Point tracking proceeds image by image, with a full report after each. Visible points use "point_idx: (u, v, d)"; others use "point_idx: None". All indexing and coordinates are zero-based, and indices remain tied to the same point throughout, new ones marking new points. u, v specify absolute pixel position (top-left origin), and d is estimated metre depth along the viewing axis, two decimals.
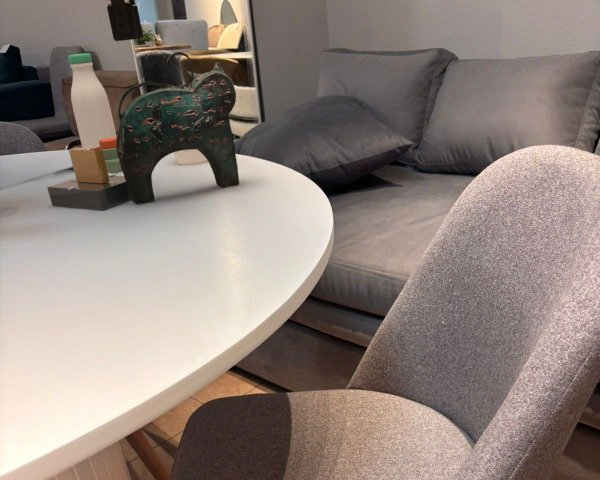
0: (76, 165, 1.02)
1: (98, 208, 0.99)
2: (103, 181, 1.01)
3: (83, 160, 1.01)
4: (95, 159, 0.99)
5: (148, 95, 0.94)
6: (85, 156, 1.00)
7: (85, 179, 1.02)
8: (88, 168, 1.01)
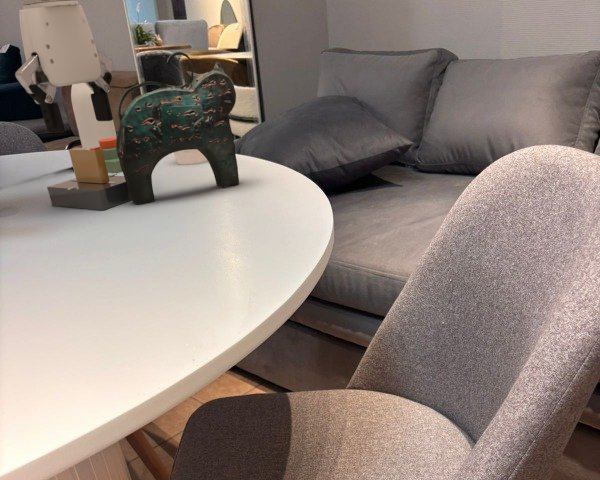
0: (76, 165, 1.02)
1: (98, 208, 0.99)
2: (103, 181, 1.01)
3: (83, 160, 1.01)
4: (95, 159, 0.99)
5: (148, 95, 0.94)
6: (85, 156, 1.00)
7: (85, 179, 1.02)
8: (88, 168, 1.01)
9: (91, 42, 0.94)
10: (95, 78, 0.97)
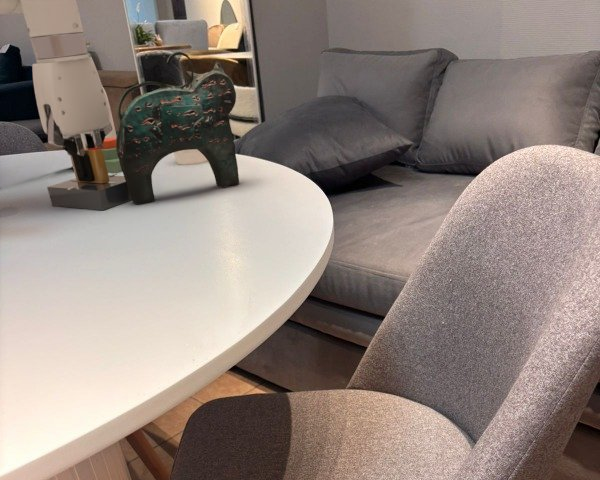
0: None
1: (98, 208, 0.99)
2: (103, 181, 1.01)
3: None
4: (95, 159, 0.99)
5: (148, 95, 0.94)
6: None
7: None
8: None
9: (101, 92, 0.98)
10: (104, 125, 1.00)
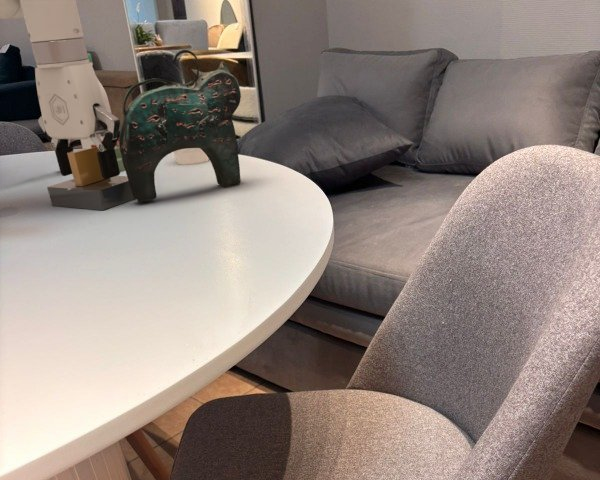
0: (82, 167, 1.00)
1: (98, 208, 0.99)
2: None
3: (90, 159, 1.01)
4: None
5: (154, 92, 0.93)
6: (93, 154, 1.01)
7: (92, 180, 1.02)
8: (95, 166, 1.02)
9: None
10: None
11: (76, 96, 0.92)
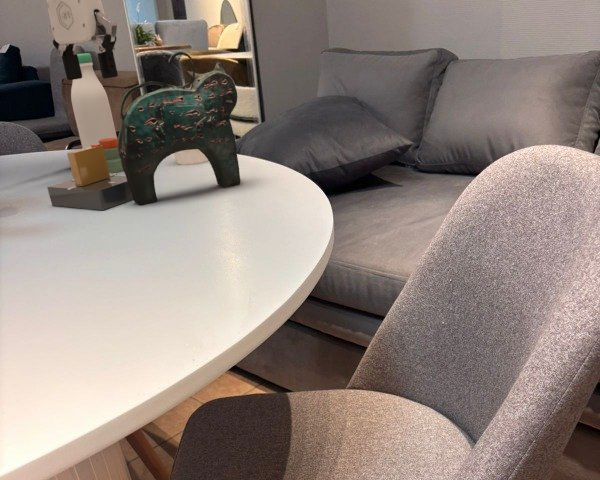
0: (82, 167, 1.00)
1: (98, 208, 0.99)
2: None
3: (90, 159, 1.01)
4: (103, 154, 1.02)
5: (150, 95, 0.93)
6: (93, 154, 1.01)
7: (92, 180, 1.02)
8: (95, 166, 1.02)
9: None
10: None
11: (79, 1, 1.07)
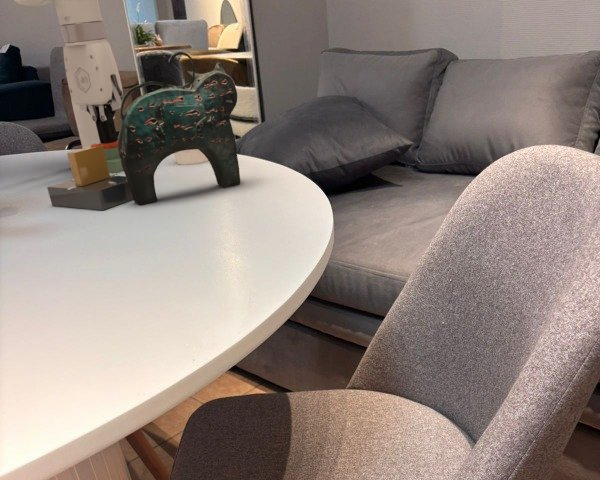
0: (82, 167, 1.00)
1: (98, 208, 0.99)
2: None
3: (90, 159, 1.01)
4: (103, 154, 1.02)
5: (150, 95, 0.93)
6: (93, 154, 1.01)
7: (92, 180, 1.02)
8: (95, 166, 1.02)
9: None
10: None
11: (97, 68, 1.15)
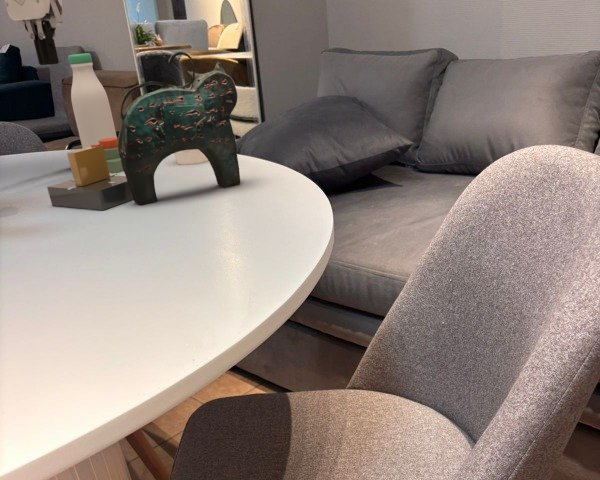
0: (82, 167, 1.00)
1: (98, 208, 0.99)
2: None
3: (90, 159, 1.01)
4: (103, 154, 1.02)
5: (150, 95, 0.93)
6: (93, 154, 1.01)
7: (92, 180, 1.02)
8: (95, 166, 1.02)
9: None
10: None
11: None
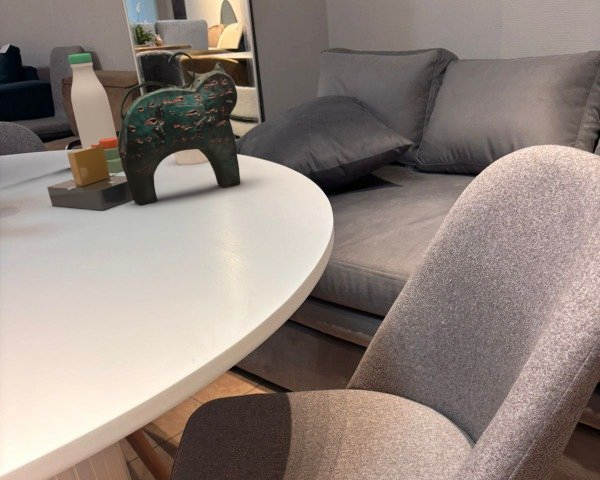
0: (82, 167, 1.00)
1: (98, 208, 0.99)
2: None
3: (90, 159, 1.01)
4: (103, 154, 1.02)
5: (150, 95, 0.93)
6: (93, 154, 1.01)
7: (92, 180, 1.02)
8: (95, 166, 1.02)
9: None
10: None
11: None
